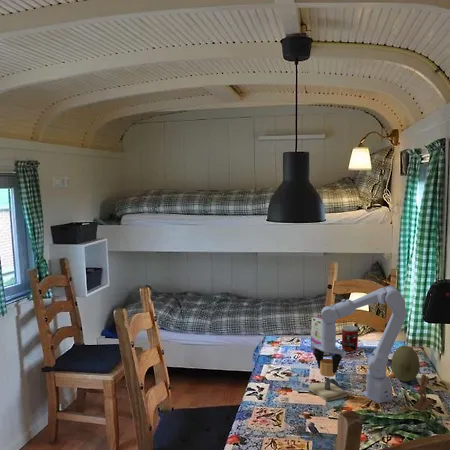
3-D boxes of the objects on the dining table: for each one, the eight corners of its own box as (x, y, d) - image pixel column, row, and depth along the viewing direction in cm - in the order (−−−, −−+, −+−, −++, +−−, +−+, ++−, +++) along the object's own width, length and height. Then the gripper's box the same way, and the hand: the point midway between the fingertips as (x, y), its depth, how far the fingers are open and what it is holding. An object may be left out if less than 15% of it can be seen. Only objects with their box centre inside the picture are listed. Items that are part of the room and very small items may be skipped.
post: (331, 389, 192) (331, 378, 192) (326, 390, 191) (327, 379, 191) (327, 387, 194) (328, 376, 194) (323, 388, 193) (323, 377, 193)
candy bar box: (330, 355, 233) (331, 322, 232) (321, 356, 232) (321, 323, 230) (319, 347, 244) (319, 316, 242) (310, 349, 242) (310, 317, 241)
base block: (347, 396, 190) (347, 392, 190) (326, 401, 185) (326, 397, 185) (328, 384, 200) (328, 381, 200) (308, 389, 196) (308, 385, 196)
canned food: (340, 350, 240) (340, 329, 239) (344, 345, 247) (344, 324, 246) (355, 352, 237) (356, 331, 236) (359, 347, 244) (359, 326, 243)
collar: (337, 373, 193) (338, 361, 192) (330, 377, 188) (331, 365, 188) (324, 369, 196) (325, 357, 196) (317, 373, 192) (317, 361, 191)
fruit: (421, 387, 198) (422, 351, 196) (393, 384, 200) (394, 350, 199) (416, 375, 209) (417, 342, 207) (389, 373, 211) (390, 340, 210)
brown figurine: (423, 411, 177) (424, 379, 176) (412, 407, 180) (413, 377, 179) (431, 402, 184) (433, 372, 183) (421, 399, 187) (422, 369, 185)
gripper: (349, 338, 189) (349, 371, 190) (317, 330, 198) (316, 362, 200) (341, 343, 184) (340, 377, 185) (308, 335, 193) (308, 367, 194)
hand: (327, 370), depth 192 cm, fingers closed on collar, 6 cm apart
